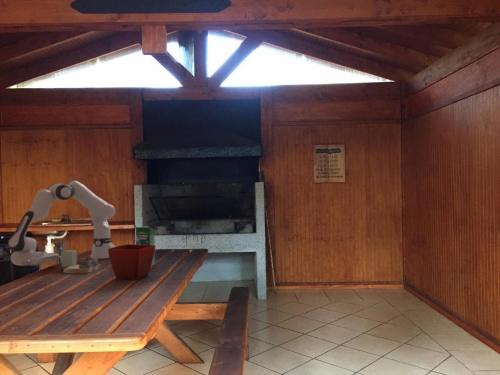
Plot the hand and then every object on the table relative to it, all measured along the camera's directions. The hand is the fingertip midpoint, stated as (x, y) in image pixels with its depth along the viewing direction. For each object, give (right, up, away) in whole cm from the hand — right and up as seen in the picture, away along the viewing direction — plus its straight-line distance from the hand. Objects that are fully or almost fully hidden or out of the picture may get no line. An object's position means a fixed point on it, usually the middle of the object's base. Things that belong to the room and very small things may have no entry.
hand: (56, 259), depth 259 cm
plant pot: (+56, -5, -29) cm, 64 cm away
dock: (+20, -6, -8) cm, 22 cm away
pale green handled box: (+9, -6, -2) cm, 11 cm away
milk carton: (+55, -5, +5) cm, 55 cm away
